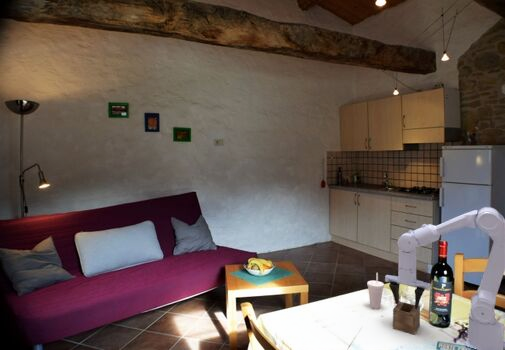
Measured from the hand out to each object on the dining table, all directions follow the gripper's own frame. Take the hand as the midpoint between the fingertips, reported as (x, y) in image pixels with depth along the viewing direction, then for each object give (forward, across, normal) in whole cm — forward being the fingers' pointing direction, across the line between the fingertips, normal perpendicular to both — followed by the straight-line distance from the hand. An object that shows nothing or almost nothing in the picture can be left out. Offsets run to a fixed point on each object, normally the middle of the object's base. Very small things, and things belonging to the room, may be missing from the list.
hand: (406, 305), depth 119 cm
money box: (+8, 0, 0) cm, 8 cm away
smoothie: (+8, +14, -10) cm, 19 cm away
